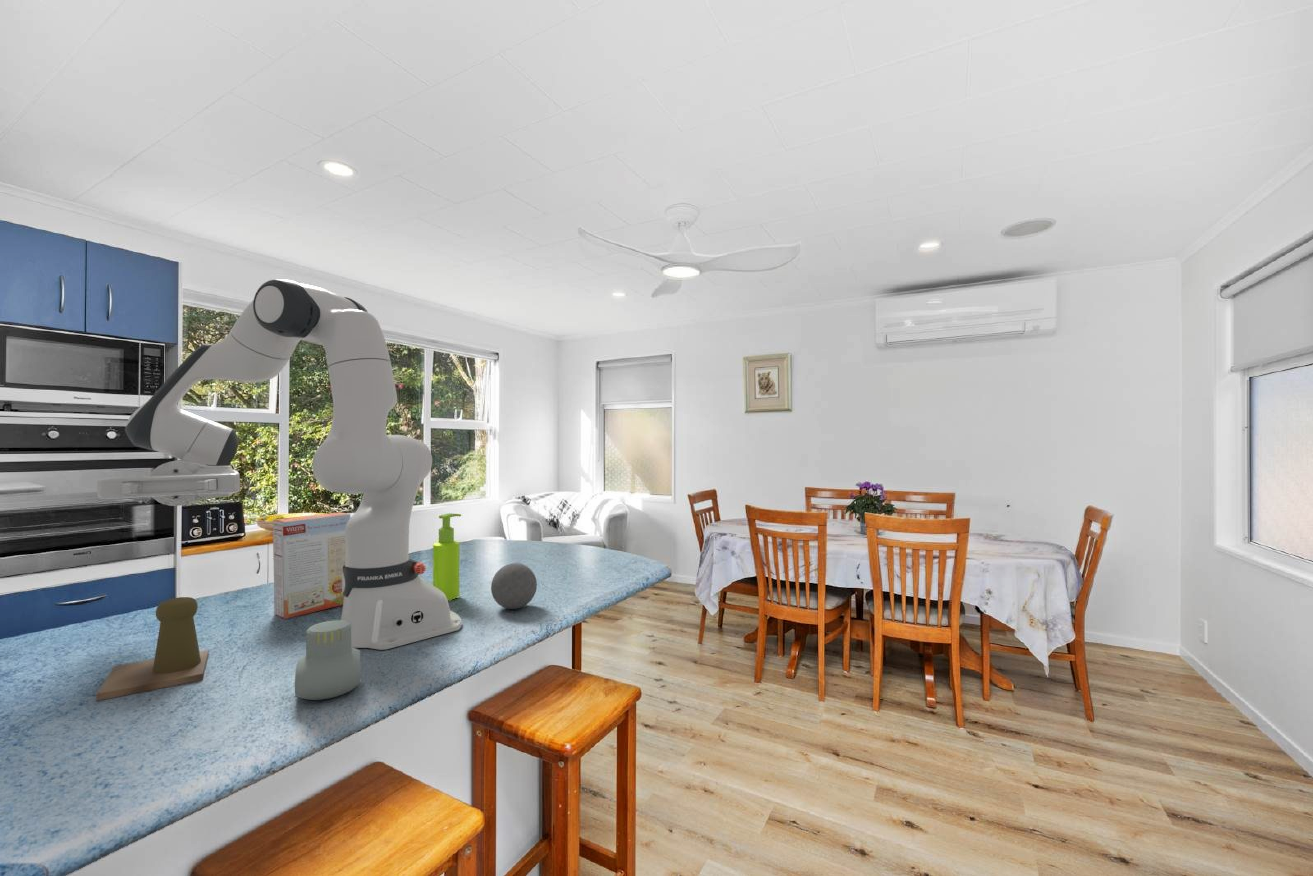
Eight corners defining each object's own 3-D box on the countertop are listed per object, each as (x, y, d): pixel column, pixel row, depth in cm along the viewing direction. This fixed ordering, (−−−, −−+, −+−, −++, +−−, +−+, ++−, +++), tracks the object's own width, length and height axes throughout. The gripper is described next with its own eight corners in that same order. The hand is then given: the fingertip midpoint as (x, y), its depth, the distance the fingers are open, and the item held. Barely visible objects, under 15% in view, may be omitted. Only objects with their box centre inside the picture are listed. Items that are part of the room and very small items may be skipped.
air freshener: (299, 683, 87) (299, 619, 87) (359, 672, 91) (359, 611, 91) (293, 714, 77) (293, 642, 77) (360, 700, 81) (360, 632, 81)
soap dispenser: (467, 595, 135) (467, 513, 135) (445, 602, 128) (446, 516, 128) (449, 592, 137) (449, 511, 137) (427, 599, 131) (427, 515, 131)
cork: (147, 676, 87) (146, 606, 86) (158, 662, 92) (158, 596, 92) (196, 668, 89) (196, 601, 89) (204, 655, 95) (204, 591, 95)
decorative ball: (488, 604, 127) (488, 561, 127) (531, 599, 131) (531, 557, 131) (494, 617, 118) (494, 571, 118) (541, 611, 122) (541, 566, 122)
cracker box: (339, 599, 131) (339, 511, 131) (352, 603, 128) (352, 513, 127) (272, 614, 120) (272, 518, 120) (283, 620, 116) (283, 520, 116)
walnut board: (208, 655, 97) (208, 649, 97) (202, 680, 88) (202, 673, 88) (114, 672, 91) (114, 666, 91) (96, 700, 81) (96, 694, 81)
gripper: (104, 469, 104) (85, 472, 93) (240, 465, 116) (238, 467, 105) (105, 502, 104) (86, 510, 93) (241, 495, 116) (238, 501, 105)
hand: (168, 487), depth 99 cm, fingers open, 8 cm apart
